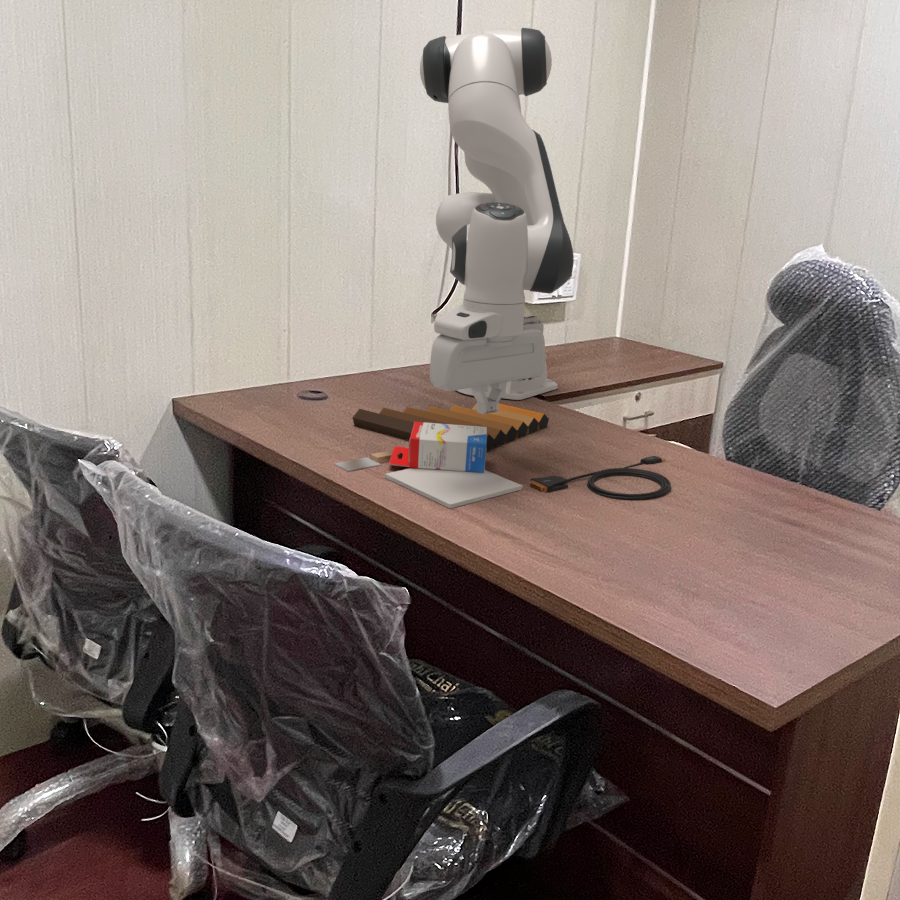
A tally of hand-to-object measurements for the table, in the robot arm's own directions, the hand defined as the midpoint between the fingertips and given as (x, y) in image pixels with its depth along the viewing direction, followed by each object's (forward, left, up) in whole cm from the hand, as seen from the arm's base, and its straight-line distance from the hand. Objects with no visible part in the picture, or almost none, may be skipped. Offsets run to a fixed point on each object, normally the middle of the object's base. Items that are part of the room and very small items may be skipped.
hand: (487, 412), depth 142 cm
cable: (-16, +14, -11) cm, 24 cm away
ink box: (-3, -3, -7) cm, 8 cm away
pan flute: (-13, -23, -11) cm, 29 cm away
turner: (+8, -14, -10) cm, 20 cm away
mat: (+6, 0, -10) cm, 12 cm away
